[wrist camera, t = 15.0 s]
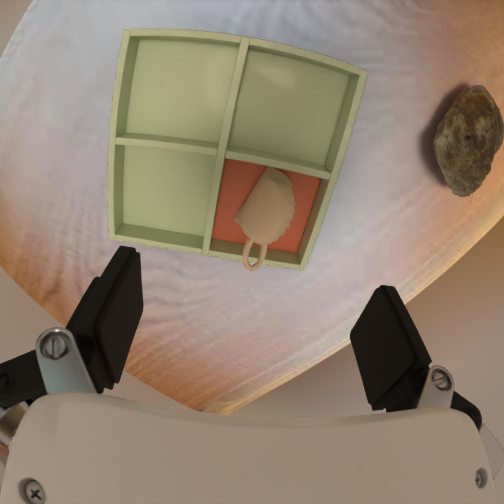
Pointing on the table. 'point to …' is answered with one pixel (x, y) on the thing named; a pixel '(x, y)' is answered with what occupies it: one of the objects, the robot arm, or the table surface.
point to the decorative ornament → (266, 213)
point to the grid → (223, 139)
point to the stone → (468, 140)
